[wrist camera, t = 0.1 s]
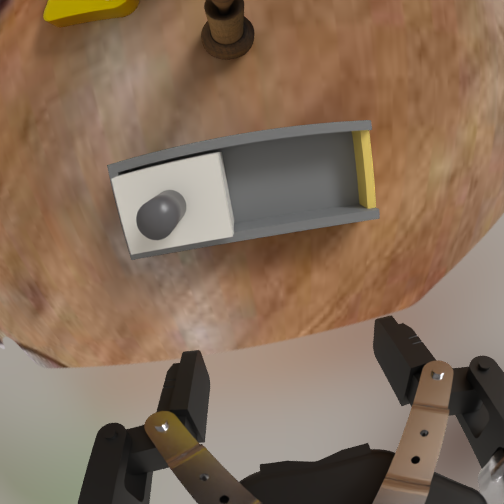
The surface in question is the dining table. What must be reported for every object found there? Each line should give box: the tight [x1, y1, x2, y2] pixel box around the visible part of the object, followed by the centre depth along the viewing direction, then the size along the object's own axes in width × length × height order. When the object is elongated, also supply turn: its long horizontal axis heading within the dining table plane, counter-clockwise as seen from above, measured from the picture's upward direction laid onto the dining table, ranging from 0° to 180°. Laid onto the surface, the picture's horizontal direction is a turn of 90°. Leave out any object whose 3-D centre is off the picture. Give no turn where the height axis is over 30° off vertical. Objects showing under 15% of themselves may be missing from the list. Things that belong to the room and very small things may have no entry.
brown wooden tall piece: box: [201, 0, 254, 59], centre depth 23 cm, size 7×6×18 cm
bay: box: [107, 120, 380, 260], centre depth 37 cm, size 12×32×5 cm, turn 99°
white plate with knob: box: [111, 152, 234, 255], centre depth 32 cm, size 9×12×13 cm
